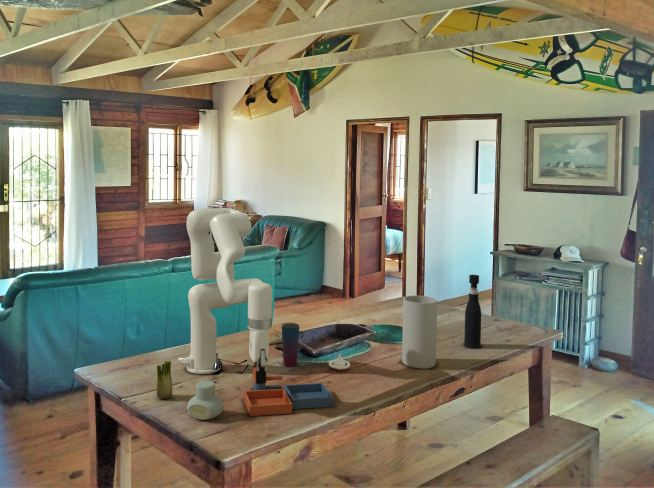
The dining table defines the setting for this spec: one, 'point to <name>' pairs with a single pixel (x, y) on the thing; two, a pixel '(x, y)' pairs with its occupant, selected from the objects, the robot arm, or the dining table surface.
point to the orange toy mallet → (266, 377)
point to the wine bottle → (473, 316)
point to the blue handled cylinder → (263, 387)
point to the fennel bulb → (164, 380)
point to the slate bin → (309, 395)
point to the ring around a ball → (339, 363)
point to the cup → (290, 343)
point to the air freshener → (205, 402)
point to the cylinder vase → (419, 331)
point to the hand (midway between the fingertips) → (259, 380)
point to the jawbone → (277, 340)
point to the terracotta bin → (267, 402)
